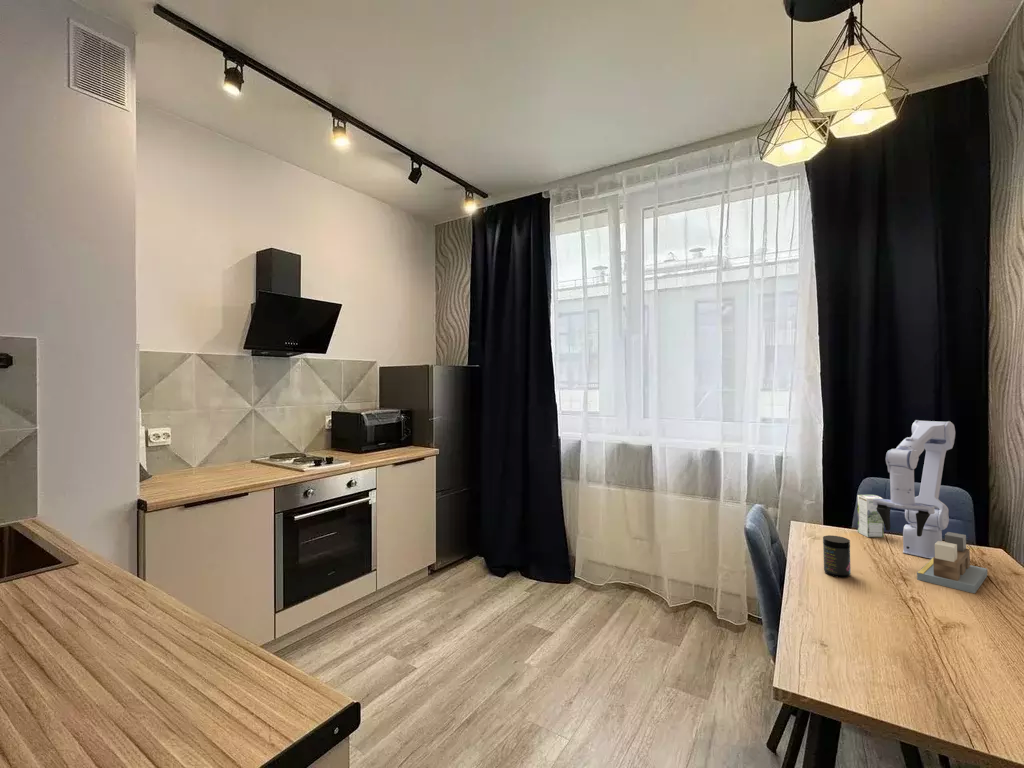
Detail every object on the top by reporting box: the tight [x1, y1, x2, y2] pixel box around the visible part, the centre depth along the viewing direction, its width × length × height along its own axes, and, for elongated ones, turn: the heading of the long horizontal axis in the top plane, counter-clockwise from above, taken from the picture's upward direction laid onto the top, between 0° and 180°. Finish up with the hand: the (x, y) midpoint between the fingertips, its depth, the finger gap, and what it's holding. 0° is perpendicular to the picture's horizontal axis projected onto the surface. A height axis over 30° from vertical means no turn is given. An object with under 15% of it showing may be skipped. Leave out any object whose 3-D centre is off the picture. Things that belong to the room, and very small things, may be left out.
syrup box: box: [857, 494, 885, 538], centre depth 175 cm, size 6×6×14 cm
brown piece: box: [933, 548, 971, 581], centre depth 137 cm, size 5×16×5 cm, turn 127°
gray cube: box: [944, 531, 967, 552], centre depth 140 cm, size 4×4×4 cm
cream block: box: [935, 540, 957, 562], centre depth 133 cm, size 4×4×4 cm
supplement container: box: [822, 535, 852, 579], centre depth 142 cm, size 7×7×10 cm
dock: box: [916, 557, 988, 594], centre depth 137 cm, size 12×18×2 cm, turn 127°
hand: (903, 532), depth 145 cm, fingers open, 7 cm apart
